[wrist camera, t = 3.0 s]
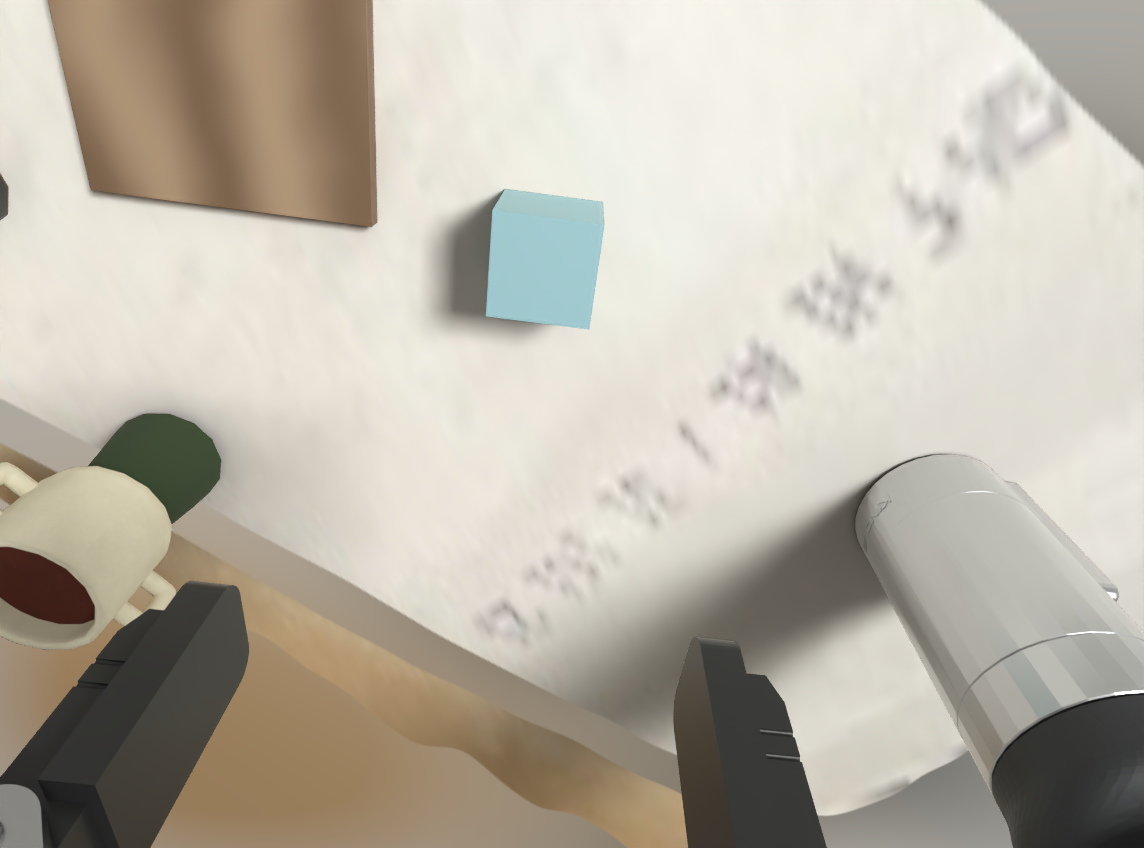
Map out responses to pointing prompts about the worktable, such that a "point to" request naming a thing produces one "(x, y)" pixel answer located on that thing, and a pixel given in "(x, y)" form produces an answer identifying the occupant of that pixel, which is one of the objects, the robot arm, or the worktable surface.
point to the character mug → (98, 532)
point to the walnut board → (226, 102)
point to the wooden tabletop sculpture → (3, 198)
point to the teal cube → (544, 258)
